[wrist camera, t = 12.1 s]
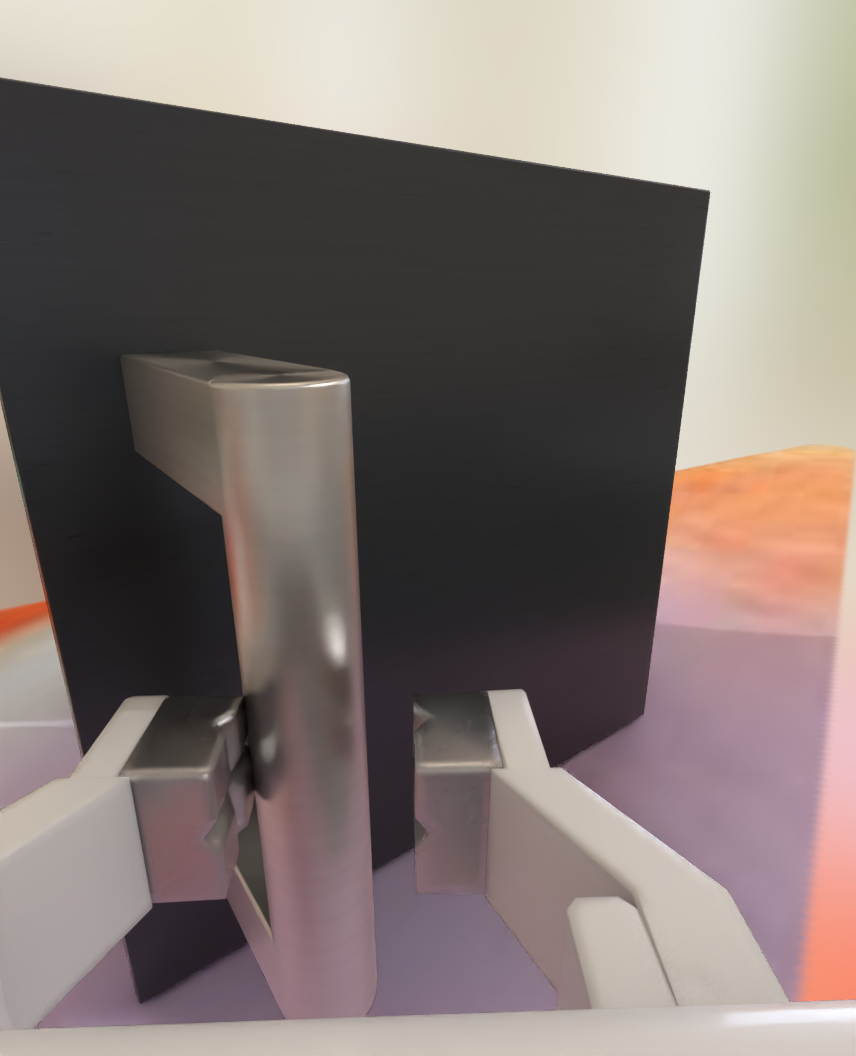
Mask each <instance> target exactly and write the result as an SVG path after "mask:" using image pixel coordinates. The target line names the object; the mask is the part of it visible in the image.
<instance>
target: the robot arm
mask: <svg viewBox="0 0 856 1056" xmlns="http://www.w3.org/2000/svg"><path fill="white" fill-rule="evenodd" d="M248 732H249V730H248V722H247V713H246V704H245V696H170V697H169V696H167V695H158V696H133V697H130V698H127V699H125V700H124V701H123V703H122V704H121V706H120V707H119V708H118V710H117V711H116V713H115V714H114V715H113V717H112V718H111V720H110V721H109V722H108V724H107V725H106V727H105V728H104V729H103V731H102V732H101V734H100V735H99V736H98V738H97V739H96V741H95V742H94V743H93V745H92V746H91V748H90V749H89V750H88V752H87V753H86V755H85V756H84V757H83V759H82V760H81V762H80V763H79V764H78V766H77V767H76V769H75V770H74V771H73V773H72V774H71V776H70V777H69V778H56V779H54V780H52V781H51V782H49V783H47V784H45V785H44V786H42V787H40V788H38V789H37V790H35V791H33V792H31V793H30V794H28V795H26V796H24V797H23V798H21V799H19V800H17V801H16V802H14V803H12V804H10V805H9V806H7V807H5V808H3V809H2V810H0V1056H856V1000H832V1001H802V1002H790V1001H789V999H788V997H787V996H786V994H785V992H784V990H783V988H782V987H781V985H780V983H779V981H778V979H777V978H776V976H775V974H774V972H773V970H772V969H771V967H770V965H769V963H768V961H767V960H766V958H765V956H764V954H763V952H762V951H761V949H760V947H759V945H758V943H757V942H756V940H755V938H754V936H753V934H752V933H751V931H750V929H749V927H748V925H747V924H746V922H745V920H744V918H743V916H742V915H741V913H740V911H739V909H738V907H737V906H736V904H735V902H734V900H733V898H732V897H731V895H730V893H729V891H728V890H727V889H725V888H724V887H722V886H721V885H720V884H718V883H717V882H716V881H714V880H713V879H712V878H710V877H709V876H708V875H706V874H705V873H703V872H702V871H701V870H699V869H698V868H697V867H695V866H694V865H693V864H691V863H690V862H689V861H687V860H686V859H685V858H683V857H682V856H680V855H679V854H678V853H676V852H675V851H674V850H672V849H671V848H670V847H668V846H667V845H666V844H664V843H663V842H661V841H660V840H659V839H657V838H656V837H655V836H653V835H652V834H651V833H649V832H648V831H647V830H645V829H644V828H642V827H641V826H640V825H638V824H637V823H636V822H634V821H633V820H632V819H630V818H629V817H628V816H626V815H625V814H624V813H622V812H621V811H619V810H618V809H617V808H615V807H614V806H613V805H611V804H610V803H609V802H607V801H606V800H605V799H603V798H602V797H600V796H599V795H598V794H596V793H595V792H594V791H592V790H591V789H590V788H588V787H587V786H586V785H584V784H583V783H581V782H580V781H579V780H577V779H576V778H575V777H573V776H572V775H571V774H569V773H568V772H567V771H565V770H564V769H562V768H550V766H549V763H548V760H547V757H546V754H545V751H544V748H543V745H542V741H541V738H540V735H539V732H538V729H537V726H536V723H535V720H534V717H533V714H532V711H531V708H530V705H529V702H528V698H527V695H526V692H524V691H523V690H522V689H511V690H492V691H480V692H454V693H429V694H413V794H414V837H415V875H416V894H486V898H487V900H488V901H489V902H490V904H491V905H492V906H493V908H494V909H495V910H496V912H497V913H498V914H499V916H500V917H501V918H502V920H503V921H504V922H505V924H506V925H507V926H508V928H509V929H510V930H511V932H512V933H513V934H514V936H515V937H516V938H517V940H518V941H519V942H520V944H521V945H522V946H523V948H524V949H525V950H526V952H527V953H528V954H529V956H530V957H531V958H532V960H533V961H534V962H535V964H536V965H537V966H538V968H539V969H540V970H541V972H542V973H543V974H544V976H545V977H546V978H547V980H548V981H549V982H550V984H551V985H552V986H553V988H554V989H555V990H556V992H557V993H558V999H557V1008H556V1010H550V1011H521V1012H491V1013H462V1014H433V1015H404V1016H375V1017H346V1018H318V1019H291V1020H263V1021H235V1022H207V1023H179V1024H151V1025H123V1026H95V1027H67V1028H39V1029H34V1028H35V1027H36V1026H37V1025H38V1024H39V1023H40V1022H41V1021H42V1020H43V1019H44V1018H45V1017H46V1016H47V1015H48V1014H49V1013H50V1012H51V1011H52V1010H53V1009H54V1008H55V1007H56V1006H57V1005H58V1004H59V1003H60V1002H61V1000H62V999H63V998H64V997H65V996H66V995H67V994H68V993H69V992H70V991H71V990H72V989H73V988H74V987H75V986H76V985H77V984H78V983H79V982H80V981H81V980H82V979H83V978H84V977H85V976H86V975H87V974H88V973H89V972H90V971H91V970H92V969H93V968H94V967H95V966H96V965H97V964H98V963H99V962H100V961H101V960H102V959H103V958H104V957H105V956H106V955H107V953H108V952H109V951H110V950H111V949H112V948H113V947H114V946H115V945H116V944H117V943H118V942H119V941H120V940H121V939H122V938H123V937H124V936H125V935H126V934H127V933H128V932H129V931H130V930H131V929H132V928H133V927H134V926H135V925H136V924H137V923H138V922H139V921H140V920H141V919H142V918H143V917H144V916H145V915H146V914H147V913H148V912H149V911H150V910H151V909H152V903H164V902H181V901H199V900H216V899H226V895H227V892H228V889H229V886H230V882H231V879H232V876H233V872H234V869H235V866H236V863H237V859H238V856H239V845H238V836H237V834H238V833H239V832H240V831H241V830H243V829H244V828H245V827H246V826H247V825H248V823H249V819H250V815H251V812H252V808H253V802H254V794H255V784H254V775H253V766H252V758H251V754H250V748H249V745H248V744H247V743H246V742H245V741H246V738H247V735H248Z"/></svg>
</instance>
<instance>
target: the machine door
mask: <svg viewBox="0 0 856 1056" xmlns="http://www.w3.org/2000/svg"><path fill="white" fill-rule="evenodd" d="M709 199H710V191H709V190H703V189H697V188H689V187H684V186H678V185H671V184H665V183H659V182H653V181H645V180H640V179H634V178H628V177H621V176H615V175H609V174H602V173H596V172H590V171H584V170H577V169H571V168H565V167H558V166H552V165H546V164H539V163H533V162H527V161H521V160H515V159H508V158H502V157H495V156H490V155H483V154H476V153H470V152H464V151H458V150H452V149H445V148H439V147H433V146H427V145H421V144H414V143H408V142H402V141H395V140H388V139H383V138H377V137H370V136H363V135H357V134H351V133H345V132H339V131H333V130H326V129H320V128H314V127H307V126H301V125H295V124H288V123H282V122H276V121H270V120H264V119H257V118H251V117H245V116H239V115H232V114H226V113H220V112H213V111H207V110H201V109H195V108H188V107H182V106H176V105H170V104H163V103H156V102H150V101H144V100H138V99H132V98H126V97H118V96H113V95H107V94H101V93H94V92H88V91H81V90H75V89H69V88H63V87H56V86H50V85H44V84H38V83H32V82H25V81H18V80H13V79H6V78H0V401H1V406H2V410H3V415H4V419H5V422H6V428H7V432H8V437H9V440H10V445H11V450H12V454H13V459H14V463H15V467H16V472H17V476H18V481H19V485H20V489H21V494H22V498H23V502H24V507H25V511H26V516H27V520H28V524H29V529H30V533H31V538H32V542H33V546H34V551H35V555H36V560H37V564H38V568H39V573H40V577H41V582H42V586H43V590H44V595H45V599H46V604H47V608H48V612H49V617H50V621H51V626H52V630H53V634H54V639H55V643H56V648H57V652H58V656H59V661H60V665H61V670H62V674H63V678H64V683H65V687H66V692H67V696H68V700H69V705H70V709H71V713H72V718H73V722H74V727H75V731H76V735H77V740H78V744H79V749H80V753H81V757H82V759H83V757H84V756H85V755H86V753H87V752H88V750H89V749H90V748H91V746H92V745H93V743H94V742H95V741H96V739H97V738H98V736H99V735H100V734H101V732H102V731H103V729H104V728H105V727H106V725H107V724H108V722H109V721H110V720H111V718H112V717H113V715H114V714H115V713H116V711H117V710H118V708H119V707H120V706H121V704H122V703H123V701H124V700H125V699H127V698H130V697H133V696H158V695H167V696H169V697H170V696H245V704H246V713H247V722H248V730H249V732H248V735H247V738H246V741H245V742H246V743H247V744H248V745H249V748H250V754H251V758H252V766H253V775H254V784H255V794H254V802H253V808H252V812H251V815H250V819H249V823H248V825H247V826H246V827H245V828H244V829H243V830H241V831H240V832H239V833H238V834H237V836H238V845H239V856H238V859H237V863H236V866H235V869H234V872H233V876H232V879H231V882H230V886H229V889H228V892H227V895H226V899H216V900H199V901H181V902H164V903H152V909H151V910H150V911H149V912H148V913H147V914H146V915H145V916H144V917H143V918H142V919H141V920H140V921H139V922H138V923H137V924H136V925H135V926H134V927H133V928H132V929H131V930H130V931H129V932H128V933H127V934H126V935H125V936H124V937H123V942H124V946H125V951H126V955H127V960H128V964H129V968H130V973H131V977H132V981H133V984H134V988H135V991H136V995H137V998H138V1002H139V1003H143V1002H145V1001H146V1000H148V999H150V998H152V997H153V996H155V995H157V994H159V993H160V992H162V991H164V990H166V989H167V988H169V987H171V986H172V985H174V984H176V983H178V982H179V981H181V980H183V979H185V978H186V977H188V976H190V975H192V974H193V973H195V972H197V971H199V970H200V969H202V968H204V967H205V966H207V965H209V964H211V963H212V962H214V961H216V960H218V959H219V958H221V957H223V956H225V955H226V954H228V953H230V952H231V951H233V950H235V949H237V948H238V947H240V946H242V945H244V944H245V943H247V942H248V943H249V945H250V947H251V949H252V952H253V954H254V956H255V958H256V960H257V962H258V964H259V966H260V968H261V970H262V972H263V974H264V976H265V978H266V981H267V983H268V985H269V987H270V989H271V991H272V993H273V995H274V997H275V999H276V1001H277V1003H278V1005H279V1007H280V1010H281V1012H282V1013H283V1015H284V1017H285V1019H286V1020H291V1019H318V1018H346V1017H365V1016H366V1015H367V1013H368V1011H369V1010H370V1008H371V1006H372V1004H373V1002H374V999H375V995H376V990H377V965H376V943H375V921H374V899H373V877H372V870H374V869H376V868H377V867H379V866H381V865H383V864H384V863H386V862H388V861H390V860H391V859H393V858H395V857H396V856H398V855H400V854H402V853H403V852H405V851H407V850H409V849H410V848H412V847H414V846H415V837H414V794H413V694H429V693H454V692H480V691H492V690H511V689H522V690H523V691H524V692H526V695H527V698H528V702H529V705H530V708H531V711H532V714H533V717H534V720H535V723H536V726H537V729H538V732H539V735H540V738H541V741H542V745H543V748H544V751H545V754H546V757H547V760H548V763H549V766H550V768H551V767H553V766H554V765H556V764H558V763H560V762H561V761H563V760H565V759H567V758H568V757H570V756H572V755H574V754H575V753H577V752H579V751H580V750H582V749H584V748H586V747H587V746H589V745H591V744H593V743H594V742H596V741H598V740H600V739H601V738H603V737H605V736H607V735H608V734H610V733H612V732H613V731H615V730H617V729H619V728H620V727H622V726H624V725H626V724H627V723H629V722H631V721H633V720H634V719H636V718H638V717H640V716H641V715H643V714H644V708H645V700H646V692H647V684H648V677H649V669H650V661H651V653H652V645H653V637H654V630H655V622H656V614H657V606H658V598H659V590H660V583H661V575H662V567H663V559H664V551H665V543H666V536H667V528H668V520H669V512H670V504H671V496H672V489H673V481H674V473H675V465H676V457H677V449H678V442H679V433H680V426H681V418H682V410H683V402H684V395H685V386H686V379H687V371H688V363H689V355H690V348H691V340H692V332H693V324H694V316H695V309H696V301H697V293H698V284H699V277H700V269H701V261H702V254H703V246H704V238H705V230H706V223H707V215H708V206H709Z"/></svg>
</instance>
